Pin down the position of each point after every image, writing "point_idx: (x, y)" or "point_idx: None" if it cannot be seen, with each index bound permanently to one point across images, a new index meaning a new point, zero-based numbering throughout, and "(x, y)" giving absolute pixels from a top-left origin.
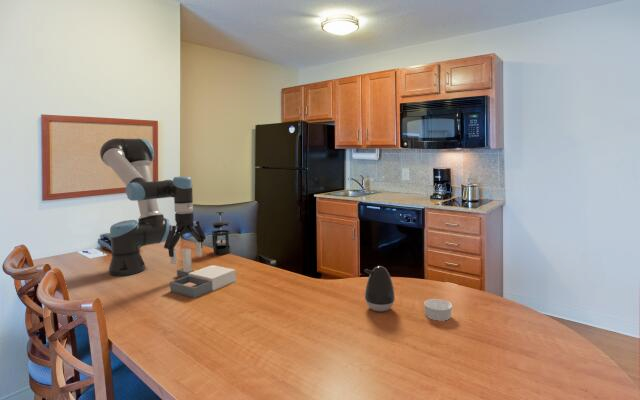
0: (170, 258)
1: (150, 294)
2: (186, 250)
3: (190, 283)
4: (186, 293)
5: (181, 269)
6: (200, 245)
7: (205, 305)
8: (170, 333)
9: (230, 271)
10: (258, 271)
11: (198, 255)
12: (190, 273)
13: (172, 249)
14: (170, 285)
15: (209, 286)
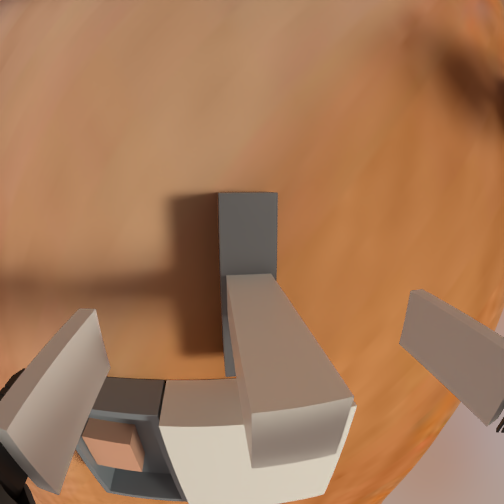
0: (54, 335)
1: (4, 319)
2: (257, 463)
3: (126, 454)
4: None
5: (252, 212)
6: (470, 403)
7: (118, 495)
8: (32, 485)
9: (297, 499)
10: (417, 426)
11: (408, 323)
12: (163, 436)
13: (18, 480)
14: None
15: (176, 488)
